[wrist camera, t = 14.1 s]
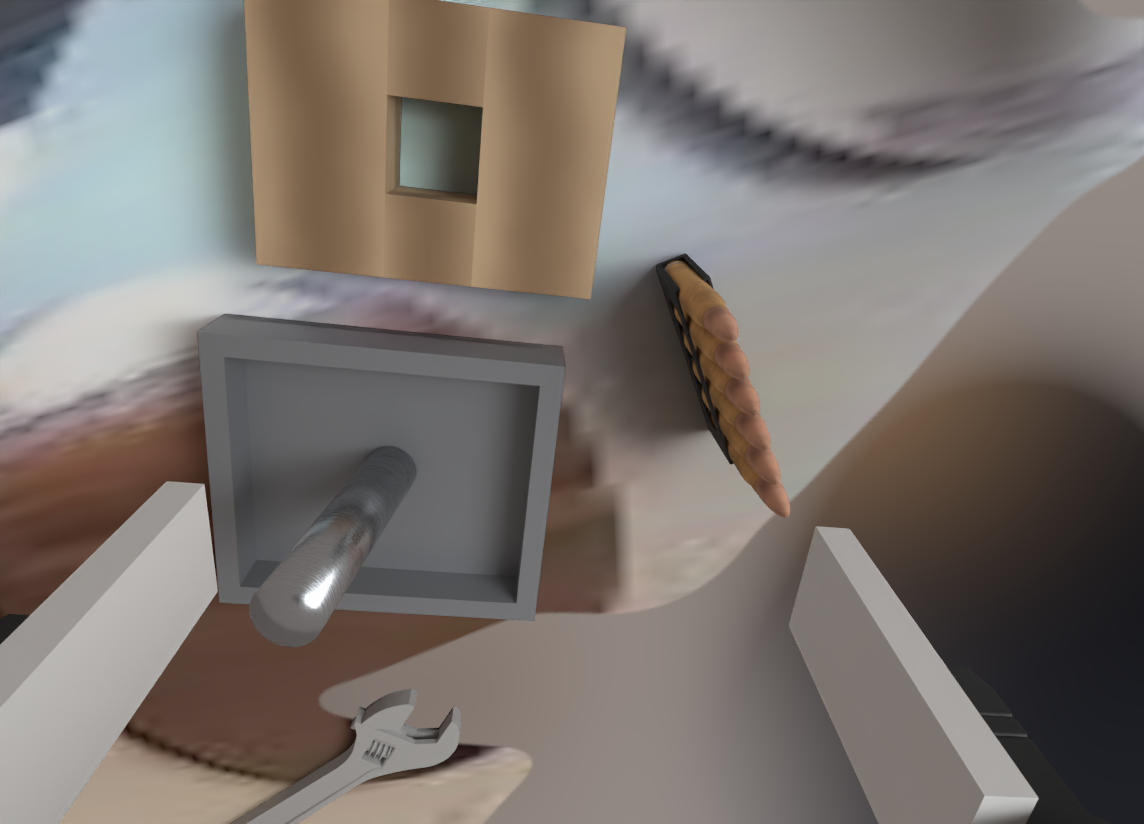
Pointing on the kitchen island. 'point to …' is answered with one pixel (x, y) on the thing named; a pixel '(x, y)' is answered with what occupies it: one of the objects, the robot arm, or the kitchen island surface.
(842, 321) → the kitchen island surface
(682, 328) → the ammunition clip
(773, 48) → the kitchen island surface
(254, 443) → the tray
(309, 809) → the adjustable wrench
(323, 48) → the tan board with hole
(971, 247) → the kitchen island surface
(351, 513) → the pin
